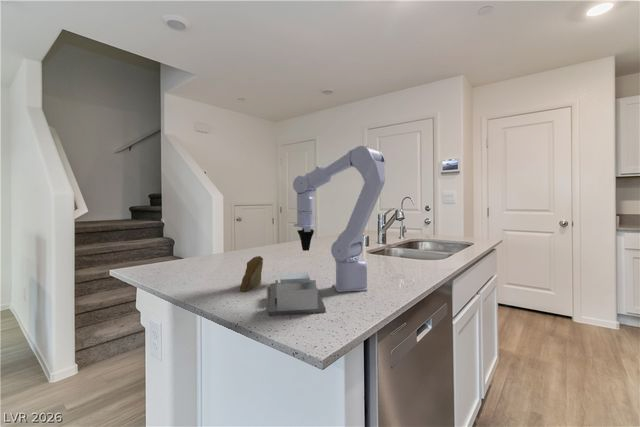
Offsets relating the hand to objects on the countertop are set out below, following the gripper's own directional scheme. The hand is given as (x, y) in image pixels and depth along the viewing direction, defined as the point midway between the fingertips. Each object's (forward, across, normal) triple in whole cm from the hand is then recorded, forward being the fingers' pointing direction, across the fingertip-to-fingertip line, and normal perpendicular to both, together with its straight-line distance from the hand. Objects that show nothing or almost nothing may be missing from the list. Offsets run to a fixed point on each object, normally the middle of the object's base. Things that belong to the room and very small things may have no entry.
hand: (305, 250), depth 106 cm
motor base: (+10, +18, -5) cm, 22 cm away
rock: (+11, +5, -19) cm, 22 cm away
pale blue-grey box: (+9, +20, -4) cm, 22 cm away
